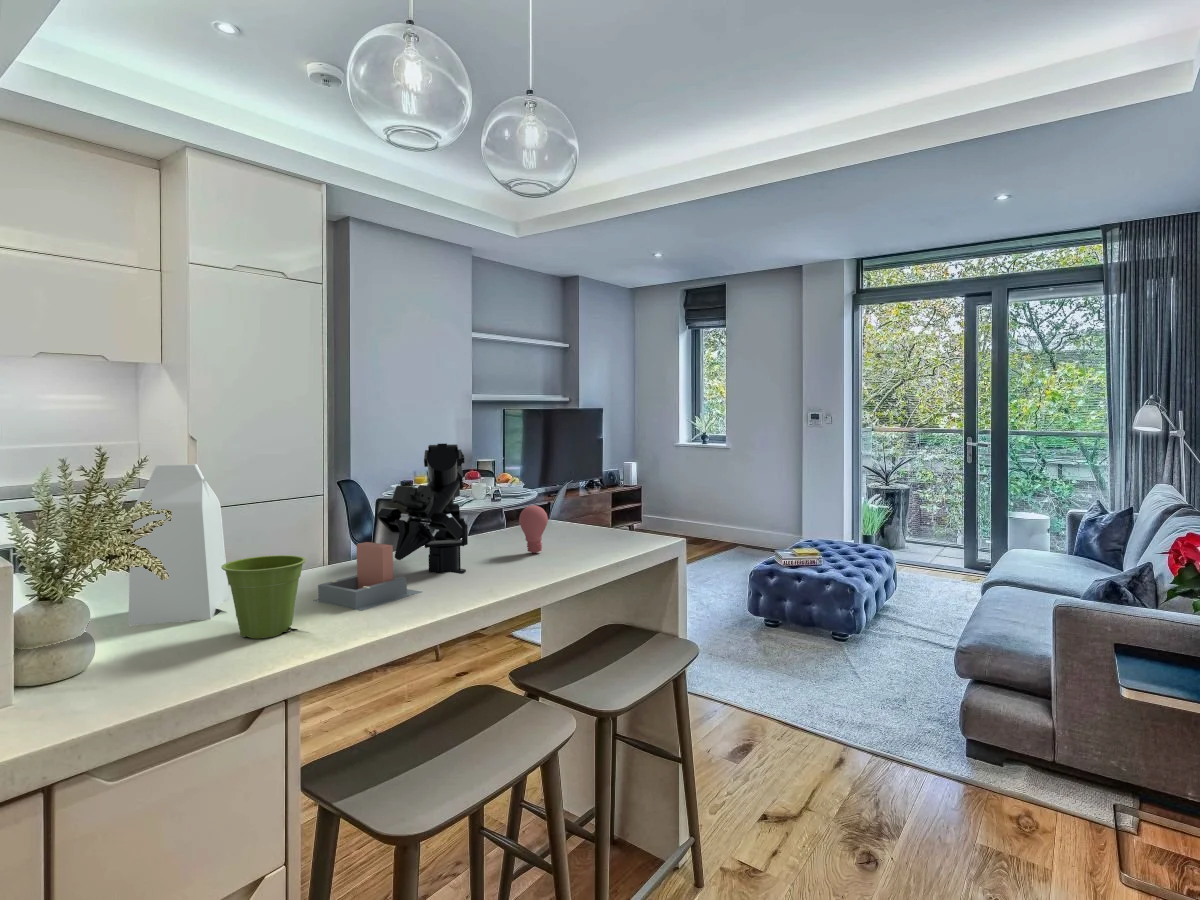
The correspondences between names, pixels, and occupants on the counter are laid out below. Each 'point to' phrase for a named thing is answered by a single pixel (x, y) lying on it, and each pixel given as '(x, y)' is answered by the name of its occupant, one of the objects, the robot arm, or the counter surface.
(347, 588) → the dock
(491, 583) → the counter surface
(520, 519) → the light bulb
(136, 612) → the milk
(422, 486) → the robot arm
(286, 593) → the plant pot
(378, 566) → the upright terracotta block
